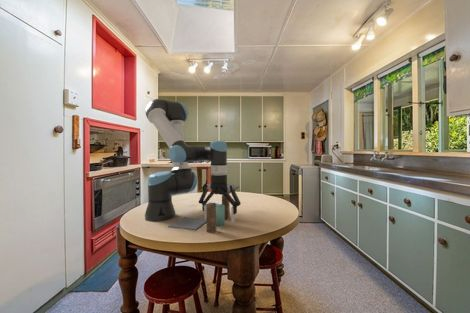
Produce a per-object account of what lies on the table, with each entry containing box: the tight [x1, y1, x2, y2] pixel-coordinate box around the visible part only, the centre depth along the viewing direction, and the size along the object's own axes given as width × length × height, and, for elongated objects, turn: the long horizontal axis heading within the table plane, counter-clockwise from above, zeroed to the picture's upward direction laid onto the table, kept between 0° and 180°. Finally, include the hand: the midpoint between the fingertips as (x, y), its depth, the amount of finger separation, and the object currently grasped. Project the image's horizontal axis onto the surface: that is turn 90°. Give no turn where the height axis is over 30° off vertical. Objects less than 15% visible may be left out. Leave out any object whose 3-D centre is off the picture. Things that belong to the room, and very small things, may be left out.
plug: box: [216, 203, 226, 227], centre depth 104 cm, size 5×5×9 cm
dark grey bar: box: [221, 185, 240, 196], centre depth 120 cm, size 3×22×4 cm, turn 162°
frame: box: [206, 195, 231, 234], centre depth 104 cm, size 3×21×12 cm, turn 162°
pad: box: [167, 216, 207, 231], centre depth 105 cm, size 14×14×1 cm
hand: (219, 219), depth 104 cm, fingers open, 13 cm apart
